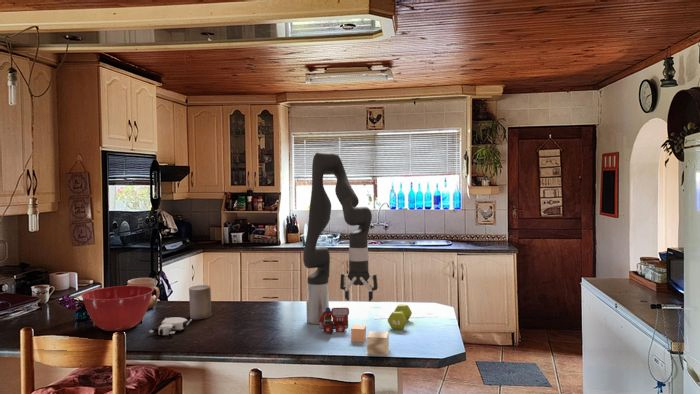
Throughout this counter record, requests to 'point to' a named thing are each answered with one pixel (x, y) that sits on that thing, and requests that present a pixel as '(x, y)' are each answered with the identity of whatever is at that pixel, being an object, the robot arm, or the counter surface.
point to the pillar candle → (200, 302)
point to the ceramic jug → (148, 283)
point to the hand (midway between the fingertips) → (359, 300)
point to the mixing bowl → (117, 306)
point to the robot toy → (170, 325)
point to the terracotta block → (358, 333)
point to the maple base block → (377, 342)
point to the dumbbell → (399, 317)
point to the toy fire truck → (334, 320)
